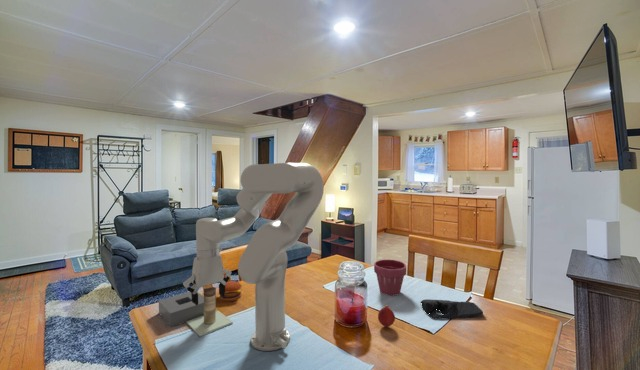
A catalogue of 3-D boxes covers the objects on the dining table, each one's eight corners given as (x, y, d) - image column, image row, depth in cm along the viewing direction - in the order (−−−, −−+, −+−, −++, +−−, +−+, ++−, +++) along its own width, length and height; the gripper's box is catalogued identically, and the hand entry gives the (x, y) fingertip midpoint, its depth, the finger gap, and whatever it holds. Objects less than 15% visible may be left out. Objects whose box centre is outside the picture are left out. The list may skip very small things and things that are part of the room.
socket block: (209, 313, 114) (209, 301, 114) (170, 327, 105) (170, 313, 104) (195, 301, 124) (195, 290, 124) (158, 313, 115) (158, 300, 114)
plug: (217, 321, 107) (217, 289, 107) (206, 325, 104) (206, 292, 104) (212, 317, 110) (212, 285, 109) (201, 321, 107) (201, 288, 107)
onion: (382, 332, 101) (382, 310, 101) (375, 324, 107) (375, 302, 106) (397, 330, 103) (398, 307, 102) (389, 321, 108) (389, 300, 108)
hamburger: (219, 294, 132) (219, 279, 132) (241, 291, 135) (241, 277, 134) (218, 303, 123) (218, 287, 123) (242, 300, 126) (242, 285, 125)
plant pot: (367, 290, 135) (367, 263, 135) (385, 282, 145) (386, 257, 144) (394, 301, 125) (394, 271, 124) (411, 292, 134) (412, 264, 133)
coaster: (232, 323, 107) (232, 321, 107) (199, 336, 99) (199, 334, 99) (218, 311, 116) (218, 310, 116) (186, 323, 107) (186, 321, 107)
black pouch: (489, 322, 109) (489, 309, 109) (428, 320, 110) (428, 308, 110) (469, 303, 124) (470, 292, 124) (417, 302, 125) (417, 291, 125)
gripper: (225, 246, 114) (226, 289, 115) (178, 255, 102) (180, 303, 103) (235, 250, 109) (236, 295, 110) (186, 260, 97) (188, 311, 98)
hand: (209, 299), depth 107 cm, fingers open, 9 cm apart
